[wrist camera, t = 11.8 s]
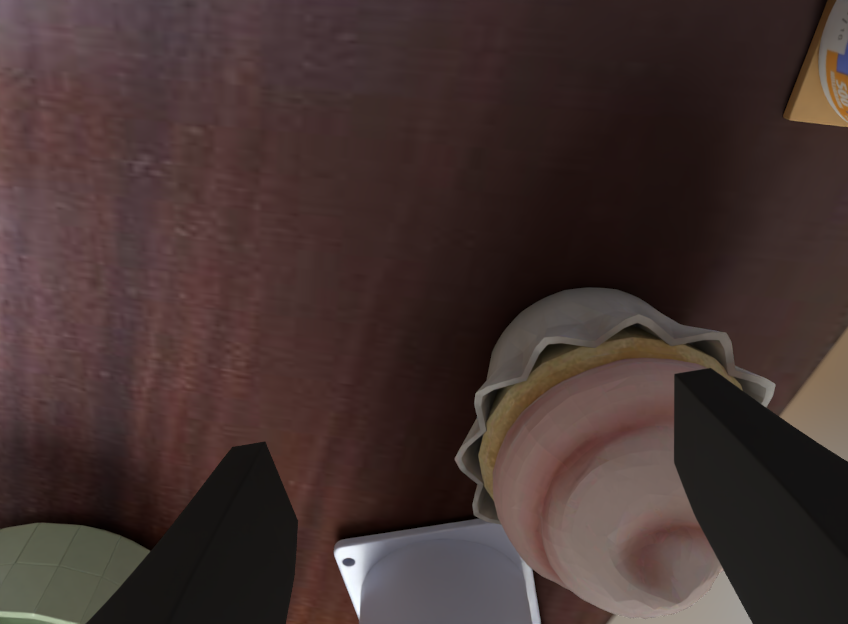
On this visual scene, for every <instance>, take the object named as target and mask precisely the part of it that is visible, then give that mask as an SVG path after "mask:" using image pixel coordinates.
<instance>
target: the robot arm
mask: <svg viewBox="0 0 848 624" xmlns="http://www.w3.org/2000/svg"><path fill="white" fill-rule="evenodd" d="M674 464H675V467H676V469H677V472H678V475H679V477H680V480H681V482H682V485H683V488H684V490H685V493H686V495H687V498H688V500H689V503H690V505H691V508H692V510H693V513H694V515H695V517H696V519H697V521H698V523H699V525H700V527H701V529H702V531H703V532H704V534H705V536H706V538H707V540H708V542H709V544H710V546H711V547H712V549H713V551H714V553H715V555H716V557H717V559H718V560H719V562H720V564H721V566H722V568H723V570H724V571H725V573H726V575H727V577H728V579H729V581H730V582H731V584H732V586H733V588H734V590H735V592H736V594H737V595H738V597H739V599H740V601H741V603H742V605H743V606H744V608H745V610H746V612H747V614H748V616H749V617H750V619H751V621H752V623H753V624H848V462H847V461H846V460H844V459H842V458H841V457H839V456H838V455H836V454H834V453H833V452H831V451H830V450H828V449H827V448H825V447H823V446H822V445H820V444H819V443H817V442H816V441H814V440H813V439H811V438H810V437H808V436H807V435H805V434H804V433H802V432H801V431H799V430H798V429H796V428H795V427H793V426H792V425H790V424H789V423H787V422H786V421H785V420H783V419H782V418H780V417H779V416H777V415H776V414H775V413H773V412H772V411H770V410H769V409H767V408H766V407H765V406H763V405H762V404H760V403H759V402H758V401H756V400H755V399H753V398H752V397H751V396H749V395H748V394H747V393H745V392H744V391H742V390H741V389H740V388H738V387H737V386H735V385H734V384H733V383H731V382H730V381H729V380H727V379H726V378H724V377H723V376H722V375H720V374H719V373H717V372H716V371H715V370H713V369H712V368H707V369H701V370H695V371H689V372H683V373H677V374H674ZM297 529H298V520H297V518H296V515H295V513H294V510H293V508H292V505H291V503H290V501H289V498H288V496H287V493H286V491H285V488H284V486H283V484H282V481H281V479H280V476H279V474H278V471H277V469H276V467H275V464H274V462H273V459H272V457H271V454H270V452H269V450H268V447H267V445H266V442H260V443H254V444H248V445H242V446H236V447H232V448H231V450H230V451H229V452H228V453H227V454H226V456H225V457H224V458H223V459H222V461H221V462H220V463H219V465H218V466H217V467H216V469H215V470H214V471H213V472H212V474H211V475H210V476H209V478H208V479H207V480H206V482H205V483H204V484H203V486H202V487H201V488H200V490H199V491H198V492H197V494H196V495H195V496H194V497H193V499H192V500H191V501H190V503H189V504H188V505H187V506H186V508H185V509H184V510H183V512H182V513H181V514H180V515H179V517H178V518H177V519H176V520H175V522H174V523H173V524H172V526H171V527H170V528H169V529H168V531H167V532H166V533H165V534H164V536H163V537H162V538H161V539H160V541H159V542H158V543H157V544H156V545H155V547H154V548H153V549H152V550H151V551H150V552H149V554H148V555H147V556H146V557H145V558H144V559H143V561H142V562H141V563H140V564H139V565H138V566H137V568H136V569H135V570H134V571H133V572H132V573H131V575H130V576H129V577H128V578H127V579H126V580H125V582H124V583H123V584H122V585H121V586H120V587H119V589H118V590H117V591H116V592H115V593H114V594H113V595H112V596H111V597H110V598H109V600H108V601H107V602H106V603H105V604H104V605H103V606H102V607H101V608H100V609H99V610H98V611H97V612H96V613H95V614H94V615H93V617H92V618H91V619H90V620H89V621H88V622H87V623H86V624H286V619H287V613H288V608H289V603H290V597H291V592H292V587H293V581H294V575H295V562H296V548H297ZM334 556H335V559H336V561H337V564H338V566H339V569H340V572H341V574H342V577H343V579H344V582H345V585H346V587H347V590H348V592H349V595H350V598H351V600H352V603H353V605H354V608H355V610H356V613H357V616H358V618H359V624H541V620H540V614H539V608H538V601H537V595H536V589H535V583H534V577H533V570H532V568H530V567H529V566H528V565H527V564H526V563H525V561H524V560H523V559H522V558H521V556H520V555H519V553H518V552H517V551H516V549H515V548H514V546H513V545H512V543H511V542H510V540H509V538H508V536H507V535H506V533H505V531H504V529H503V527H502V525H500V524H495V523H491V522H486V521H484V520H482V519H480V518H479V519H473V520H466V521H460V522H453V523H447V524H440V525H434V526H427V527H421V528H414V529H407V530H401V531H394V532H388V533H381V534H375V535H368V536H362V537H355V538H349V539H343V540H340V541H338V542H337V543H336V544H335V546H334ZM350 558H351V559H350Z"/></svg>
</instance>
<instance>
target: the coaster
mask: <svg viewBox="0 0 848 624" xmlns="http://www.w3.org/2000/svg"><path fill="white" fill-rule="evenodd" d="M836 1H837V0H827V3H826V6H825V8H824V11H823V13H822V16H821V19H820V21H819V24H818V26H817V29H816V32H815V34H814V37H813V39H812V42H811V44H810V47H809V50H808V52H807V55H806V57H805V60H804V63H803V65H802V68H801V70H800V73H799V75H798V78H797V81H796V83H795V86H794V88H793V91H792V94H791V96H790V99H789V101H788V104H787V107H786V109H785V112H784V114H783V117H784V118H786V119H788V120H792V121H800V122H809V123H817V124H825V125H834V126H842V127H848V122H846V121H845V120H844V119H842V118H841V117H840V116H839V115H838V114H837V113H836V111H835V110H834V109H833V108H832V106H831V105H830V103H829V102H828V100H827V98H826V96H825V94H824V91H823V88H822V85H821V81H820V76H819V66H818V59H819V47H820V42H821V37H822V33H823V30H824V27H825V25H826V22H827V19H828V17H829V14H830V12H831V10H832V8H833V6H834V4H835V2H836Z"/></svg>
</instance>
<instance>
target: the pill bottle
mask: <svg viewBox="0 0 848 624" xmlns="http://www.w3.org/2000/svg"><path fill="white" fill-rule="evenodd" d="M818 66H819V76H820V81H821V85H822V88H823V91H824V94H825V96H826V98H827V100H828V102H829V103H830V105H831V106H832V108H833V109H834V110H835V111H836V113H837V114H838V115H839V116H840V117H841V118H842V119H844V120H845V121H846V122H848V0H837V1H836V2H835V4H834V6H833V8H832V10H831V12H830V14H829V17H828V19H827V22H826V25H825V27H824V30H823V33H822V37H821V42H820V47H819V59H818Z"/></svg>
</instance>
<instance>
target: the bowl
mask: <svg viewBox="0 0 848 624" xmlns="http://www.w3.org/2000/svg"><path fill="white" fill-rule="evenodd" d="M149 552H150V550H148V549H146V548H145V547H143V546H141V545H139V544H138V543H136V542H134V541H132V540H130V539H128V538H125V537H123V536H121V535H118V534H115V533H112V532H109V531H106V530H102V529H98V528H94V527H89V526H84V525H74V524H56V523H39V522H38V523H32V524H26V525H19V526H13V527H7V528H3V529H0V624H86V623H87V622H88V621H89V620H90V619H91V618H92V617H93V615H94V614H95V613H96V612H97V611H98V610H99V609H100V608H101V607H102V606H103V605H104V604H105V603H106V602H107V601H108V600H109V598H110V597H111V596H112V595H113V594H114V593H115V592H116V591H117V590H118V589H119V587H120V586H121V585H122V584H123V583H124V582H125V580H126V579H127V578H128V577H129V576H130V575H131V573H132V572H133V571H134V570H135V569H136V568H137V566H138V565H139V564H140V563H141V562H142V561H143V559H144V558H145V557H146V556H147V555H148V554H149Z"/></svg>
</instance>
